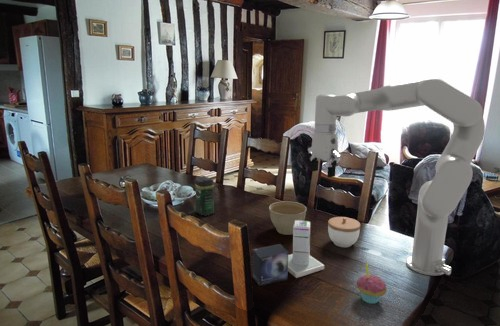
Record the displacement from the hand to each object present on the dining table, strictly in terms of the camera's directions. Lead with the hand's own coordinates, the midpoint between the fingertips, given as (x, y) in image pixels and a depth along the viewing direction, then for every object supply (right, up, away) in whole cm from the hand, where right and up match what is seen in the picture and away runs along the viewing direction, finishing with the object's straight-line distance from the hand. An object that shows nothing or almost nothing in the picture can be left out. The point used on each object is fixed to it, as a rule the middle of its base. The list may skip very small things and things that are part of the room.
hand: (322, 173), depth 132 cm
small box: (-21, -35, -15) cm, 43 cm away
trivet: (-9, -33, -7) cm, 35 cm away
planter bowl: (-11, -26, +22) cm, 36 cm away
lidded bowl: (+10, -29, +11) cm, 32 cm away
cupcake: (+9, -38, -26) cm, 46 cm away
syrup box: (-9, -31, -7) cm, 33 cm away
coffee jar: (-50, -21, +43) cm, 69 cm away
